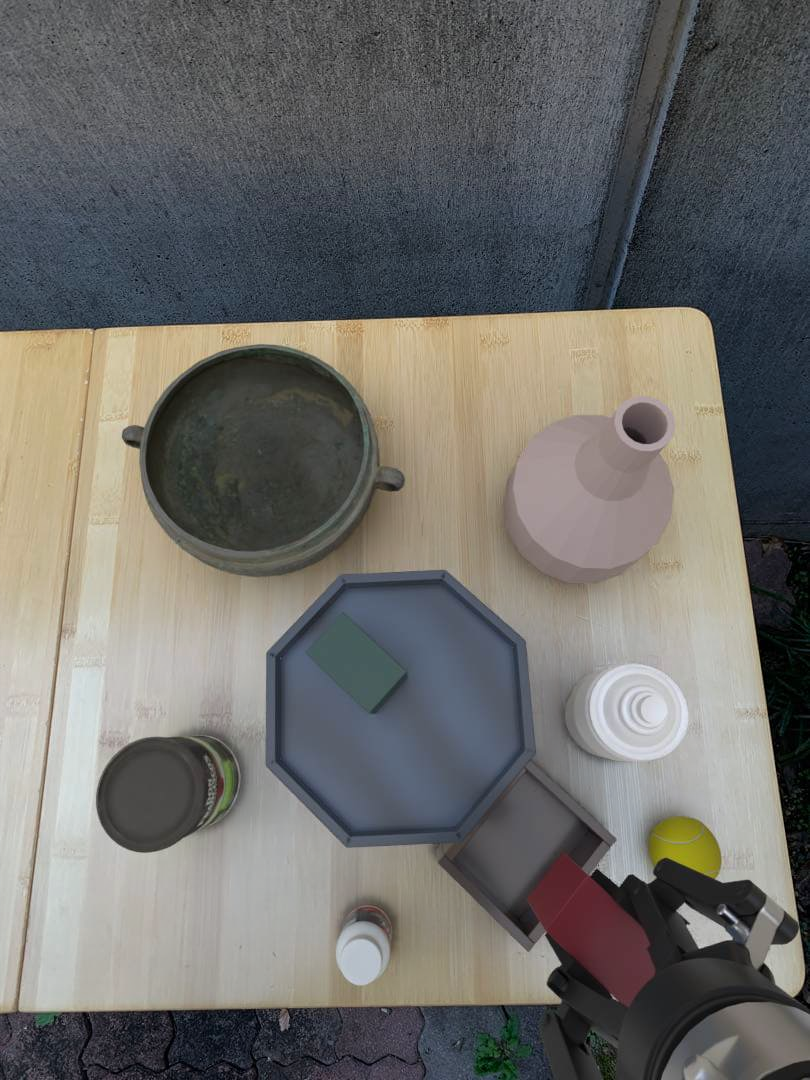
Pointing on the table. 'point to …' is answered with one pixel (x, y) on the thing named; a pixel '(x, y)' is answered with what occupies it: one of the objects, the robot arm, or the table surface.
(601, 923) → the red rectangular block
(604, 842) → the holder
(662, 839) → the tennis ball
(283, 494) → the bowl
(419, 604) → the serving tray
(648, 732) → the white stepped cylinder
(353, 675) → the packet green
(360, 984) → the pill bottle
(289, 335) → the table surface
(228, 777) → the coffee can
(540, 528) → the vase
